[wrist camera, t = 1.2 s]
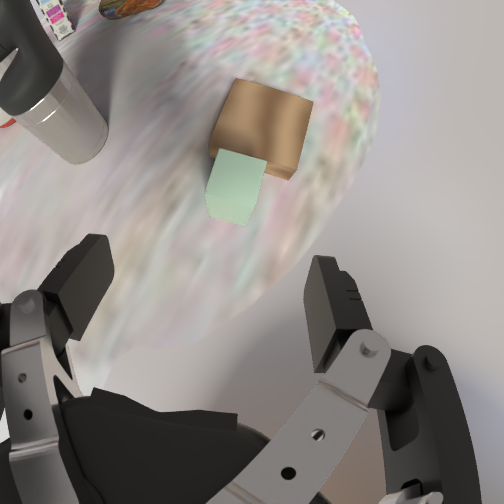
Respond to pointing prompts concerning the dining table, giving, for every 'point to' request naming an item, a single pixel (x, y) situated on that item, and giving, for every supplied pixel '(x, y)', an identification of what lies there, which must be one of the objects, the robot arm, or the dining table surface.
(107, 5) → the tin
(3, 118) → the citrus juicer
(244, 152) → the wooden block
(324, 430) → the robot arm
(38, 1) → the candy bar box
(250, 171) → the green pillar
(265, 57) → the dining table surface
